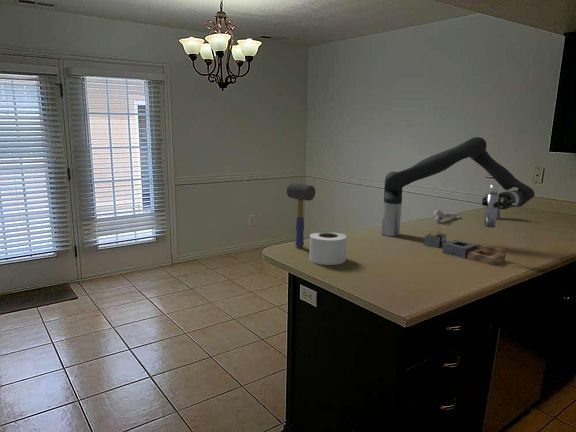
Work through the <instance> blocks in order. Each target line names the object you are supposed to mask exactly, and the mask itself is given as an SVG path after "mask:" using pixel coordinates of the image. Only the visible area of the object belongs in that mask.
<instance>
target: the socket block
mask: <svg viewBox="0 0 576 432" xmlns="http://www.w3.org/2000/svg"><path fill="white" fill-rule="evenodd" d="M477 246H478V244H476V243H474V242H473V243H472V242H468V241H463V240H458V239H454V240H448V241H446V243H443V246H442V252H441V253H442V254H445V255H450V256H452V257H453V256H454V257H457V258H461V259H467V252H469V251H472V250H475V249H477Z"/></svg>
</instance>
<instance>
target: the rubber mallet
mask: <svg viewBox="0 0 576 432" xmlns="http://www.w3.org/2000/svg"><path fill="white" fill-rule="evenodd" d="M286 195H287V197H288V198H290V199H294V200H297V215H296V219H295V220H296V221H295V231H296V233H295V234H296V235H295V237H296V238H295V241H294V242H295V247H296V248H303V247H304V244H305V243H304V231H305V229H304V228H305V219H304V201H308V202H309V201H312V200H313V199H314V198H315V197H316V189H315V186H313V185H310V184H306V183H305V184H304V183H297V182H291V183H289V184H288V185H287V187H286Z"/></svg>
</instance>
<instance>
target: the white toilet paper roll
mask: <svg viewBox="0 0 576 432" xmlns="http://www.w3.org/2000/svg"><path fill="white" fill-rule="evenodd" d="M347 237H348V236H347V235H346V234H343V233H341V232H333V231H319V232H318V231H317V232H313V233H310V234H309V261H310V262H312V263H314V264H318V265H323V266H336V265H342V264H344V263H346V257H347V256H346V255H347Z"/></svg>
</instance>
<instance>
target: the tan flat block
mask: <svg viewBox="0 0 576 432" xmlns="http://www.w3.org/2000/svg"><path fill="white" fill-rule="evenodd" d="M442 234H447V226H442V225H440V226H438V227H435V228H433V229H431V230H430V236H435V237H439V236H440V235H442Z"/></svg>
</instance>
